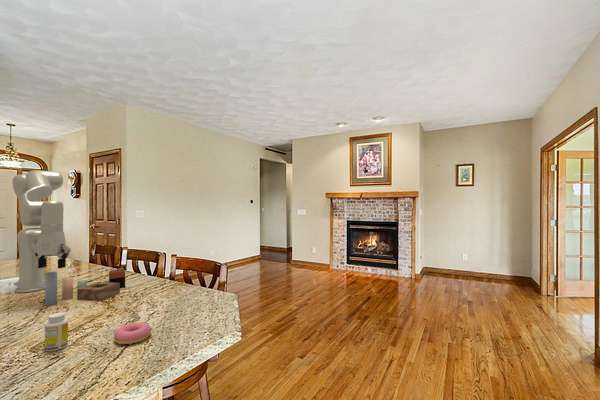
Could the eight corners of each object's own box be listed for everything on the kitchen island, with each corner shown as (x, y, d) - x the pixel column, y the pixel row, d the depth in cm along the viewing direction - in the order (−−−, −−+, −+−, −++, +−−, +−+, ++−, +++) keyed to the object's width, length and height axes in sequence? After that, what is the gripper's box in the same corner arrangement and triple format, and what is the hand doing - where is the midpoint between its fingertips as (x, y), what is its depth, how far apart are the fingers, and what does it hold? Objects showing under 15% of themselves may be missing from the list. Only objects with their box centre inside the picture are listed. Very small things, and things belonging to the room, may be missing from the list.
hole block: (77, 299, 135) (77, 288, 135) (98, 291, 147) (98, 281, 147) (100, 300, 134) (100, 289, 134) (119, 292, 146) (119, 282, 146)
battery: (125, 287, 155) (125, 268, 155) (110, 289, 151) (110, 270, 151) (123, 285, 159) (123, 267, 159) (108, 288, 154) (108, 269, 154)
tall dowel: (42, 305, 127) (43, 273, 127) (51, 302, 131) (51, 271, 131) (50, 306, 127) (51, 273, 127) (59, 302, 131) (59, 271, 131)
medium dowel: (59, 299, 135) (59, 280, 135) (67, 296, 139) (67, 277, 139) (67, 300, 135) (67, 280, 135) (75, 297, 139) (75, 278, 139)
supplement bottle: (65, 341, 94) (65, 310, 95) (69, 347, 91) (70, 314, 91) (42, 348, 90) (43, 315, 90) (46, 354, 87) (46, 319, 87)
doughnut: (135, 348, 91) (135, 335, 91) (104, 345, 93) (104, 332, 93) (158, 333, 102) (158, 321, 102) (130, 330, 104) (130, 318, 104)
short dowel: (75, 294, 143) (75, 282, 143) (82, 291, 147) (82, 279, 147) (82, 294, 143) (82, 282, 143) (89, 292, 147) (89, 280, 147)
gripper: (26, 229, 127) (25, 269, 126) (61, 229, 125) (61, 269, 124) (43, 228, 134) (43, 265, 134) (77, 228, 132) (76, 266, 132)
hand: (51, 267), depth 129 cm, fingers open, 9 cm apart
